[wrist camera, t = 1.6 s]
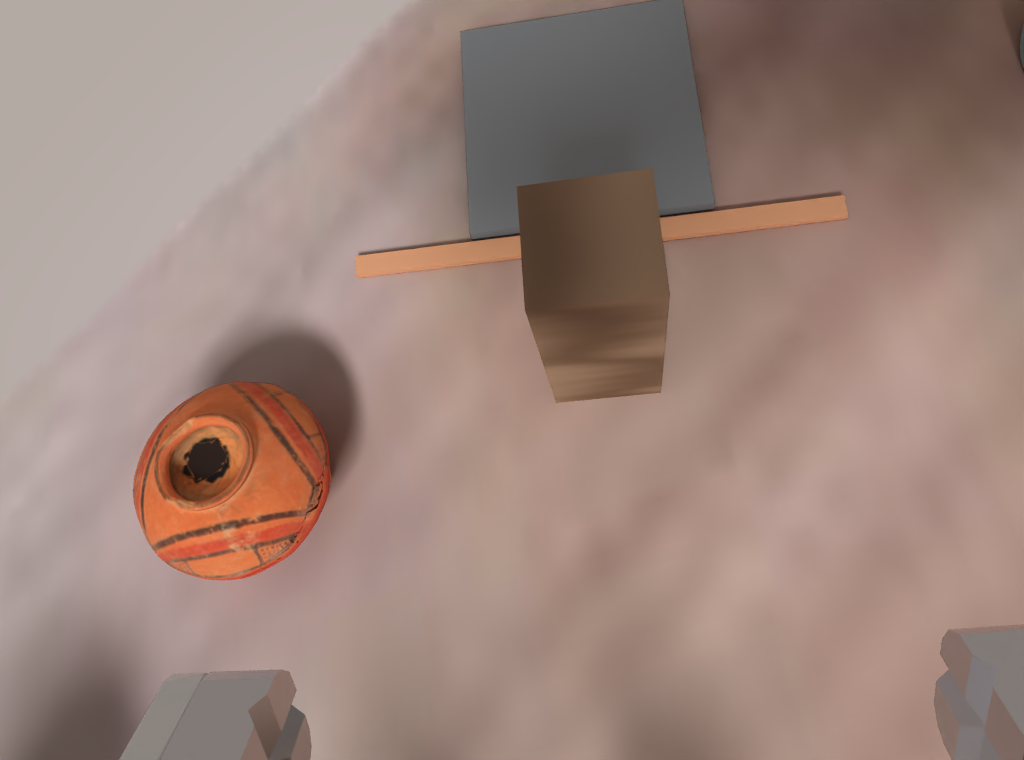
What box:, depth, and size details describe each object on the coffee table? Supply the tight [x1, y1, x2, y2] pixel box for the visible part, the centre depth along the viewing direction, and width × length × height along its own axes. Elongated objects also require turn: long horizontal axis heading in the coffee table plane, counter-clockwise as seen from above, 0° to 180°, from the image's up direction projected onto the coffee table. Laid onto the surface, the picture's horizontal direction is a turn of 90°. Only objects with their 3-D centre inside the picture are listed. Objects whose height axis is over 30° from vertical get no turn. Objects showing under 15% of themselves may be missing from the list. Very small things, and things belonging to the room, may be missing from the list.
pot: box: [133, 382, 332, 580], centre depth 32 cm, size 8×8×7 cm
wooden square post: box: [517, 168, 670, 403], centre depth 30 cm, size 4×4×10 cm
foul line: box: [356, 195, 848, 278], centre depth 36 cm, size 22×1×1 cm, turn 93°
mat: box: [461, 0, 715, 240], centre depth 38 cm, size 11×12×1 cm
